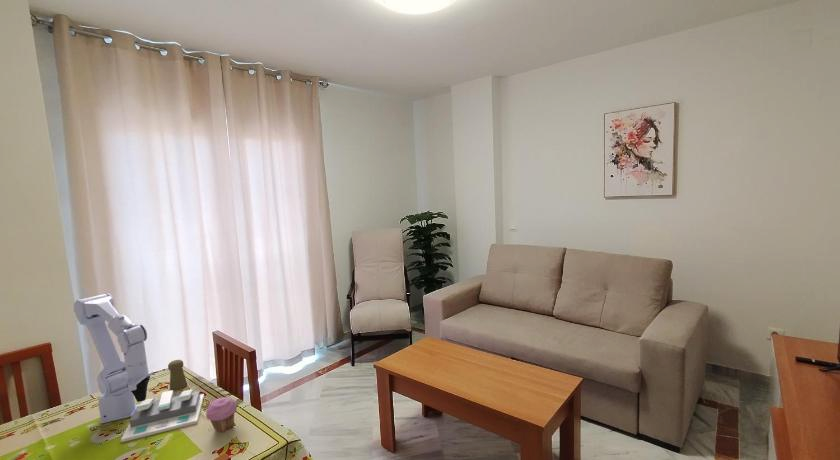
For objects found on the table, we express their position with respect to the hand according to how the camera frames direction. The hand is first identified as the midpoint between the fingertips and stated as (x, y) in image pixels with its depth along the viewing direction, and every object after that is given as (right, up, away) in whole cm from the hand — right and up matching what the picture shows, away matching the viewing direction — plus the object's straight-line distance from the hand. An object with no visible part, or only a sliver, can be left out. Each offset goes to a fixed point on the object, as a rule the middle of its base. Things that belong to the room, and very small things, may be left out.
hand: (141, 400), depth 126 cm
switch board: (+5, -8, +5) cm, 11 cm away
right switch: (+10, -3, +8) cm, 13 cm away
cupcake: (+29, -8, -2) cm, 30 cm away
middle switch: (+4, -3, +6) cm, 8 cm away
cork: (-3, -6, +25) cm, 26 cm away
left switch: (-1, -4, +3) cm, 5 cm away
